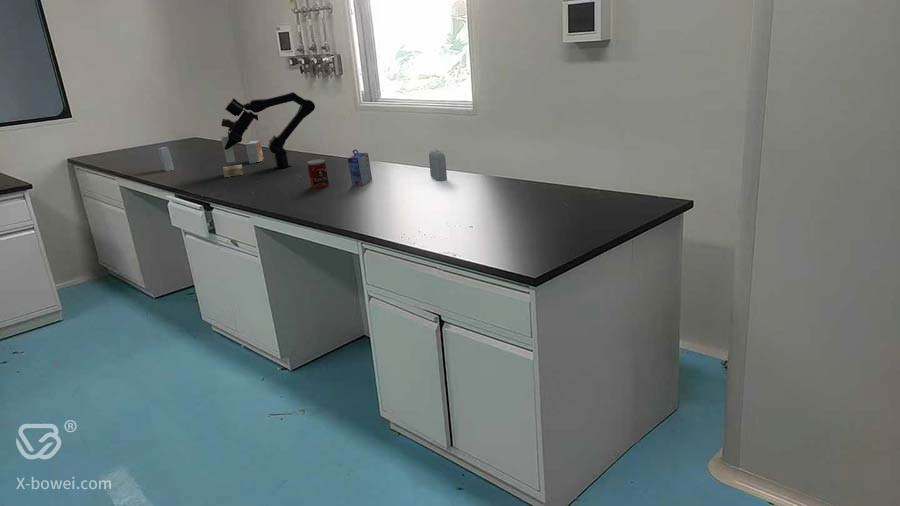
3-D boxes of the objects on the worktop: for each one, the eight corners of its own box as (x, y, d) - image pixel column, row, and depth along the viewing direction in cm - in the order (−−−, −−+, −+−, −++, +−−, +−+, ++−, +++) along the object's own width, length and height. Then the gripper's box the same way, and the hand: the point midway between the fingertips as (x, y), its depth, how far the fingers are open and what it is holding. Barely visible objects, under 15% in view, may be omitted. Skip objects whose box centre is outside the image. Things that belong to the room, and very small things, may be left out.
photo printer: (448, 180, 264) (446, 150, 260) (439, 181, 263) (436, 152, 258) (438, 175, 273) (436, 147, 269) (429, 177, 272) (426, 148, 267)
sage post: (235, 159, 311) (229, 135, 307) (235, 161, 307) (230, 137, 302) (226, 161, 310) (221, 136, 306) (226, 162, 306) (221, 138, 301)
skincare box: (174, 170, 335) (169, 147, 330) (166, 171, 332) (160, 149, 328) (171, 168, 339) (165, 146, 335) (162, 170, 337) (157, 148, 332)
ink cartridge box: (361, 180, 278) (356, 147, 273) (372, 180, 276) (368, 147, 271) (351, 186, 269) (346, 152, 264) (362, 186, 267) (358, 152, 262)
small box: (259, 162, 334) (255, 143, 330) (249, 163, 334) (245, 144, 330) (264, 159, 341) (260, 140, 337) (253, 160, 341) (250, 141, 338)
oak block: (243, 172, 316) (241, 164, 315) (243, 175, 308) (242, 167, 307) (224, 175, 314) (222, 167, 312) (224, 178, 306) (223, 170, 304)
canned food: (314, 189, 269) (310, 164, 265) (309, 186, 275) (304, 161, 271) (331, 186, 272) (327, 161, 268) (325, 182, 278) (322, 158, 275)
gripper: (228, 110, 310) (210, 135, 310) (229, 114, 293) (210, 141, 294) (248, 123, 315) (230, 149, 315) (250, 128, 298) (231, 155, 299)
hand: (225, 148), depth 306 cm, fingers closed on sage post, 5 cm apart
